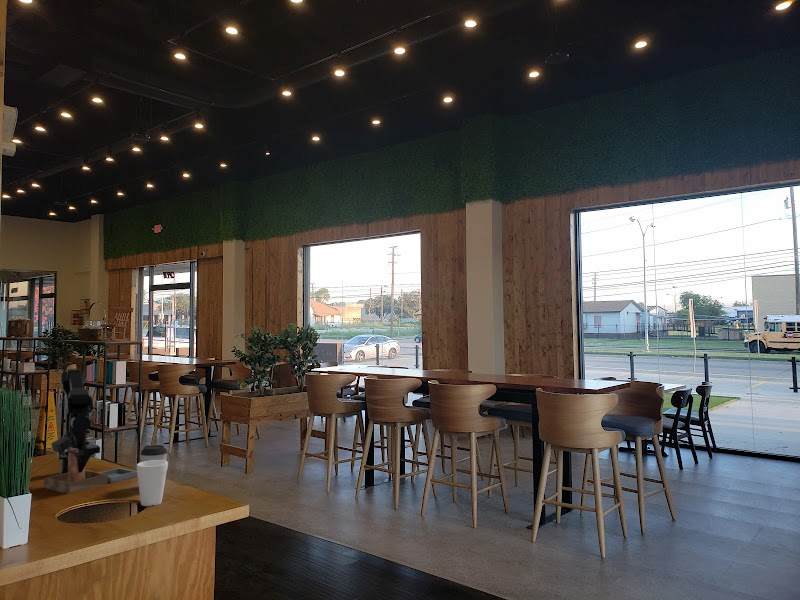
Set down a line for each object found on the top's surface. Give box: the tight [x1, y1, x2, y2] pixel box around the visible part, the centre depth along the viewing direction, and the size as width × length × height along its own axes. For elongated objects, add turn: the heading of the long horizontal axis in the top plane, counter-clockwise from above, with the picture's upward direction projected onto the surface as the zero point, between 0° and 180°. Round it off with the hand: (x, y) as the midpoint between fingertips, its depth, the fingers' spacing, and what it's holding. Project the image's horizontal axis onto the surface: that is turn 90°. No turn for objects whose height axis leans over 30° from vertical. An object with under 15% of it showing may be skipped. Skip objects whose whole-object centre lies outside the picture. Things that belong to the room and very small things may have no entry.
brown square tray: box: [43, 469, 108, 495], centre depth 210 cm, size 15×15×4 cm
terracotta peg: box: [68, 451, 86, 482], centre depth 211 cm, size 4×4×10 cm
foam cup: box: [136, 460, 169, 507], centre depth 193 cm, size 10×9×13 cm
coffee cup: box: [140, 444, 168, 462], centre depth 211 cm, size 9×9×15 cm
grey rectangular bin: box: [99, 467, 138, 484], centre depth 222 cm, size 11×11×2 cm
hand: (76, 471), depth 211 cm, fingers closed on terracotta peg, 4 cm apart
